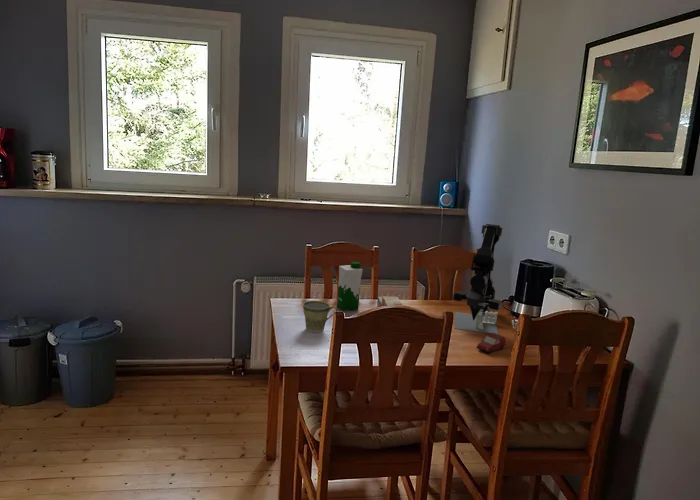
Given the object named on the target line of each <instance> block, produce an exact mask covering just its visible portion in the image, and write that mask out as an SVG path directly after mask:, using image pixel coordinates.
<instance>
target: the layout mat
mask: <svg viewBox="0 0 700 500" xmlns="http://www.w3.org/2000/svg"><path fill="white" fill-rule="evenodd" d="M477 316H478V315H477ZM477 316H476V318H475V320H473V317H472V313H468V312H467V313H466V312H460V311H459V312H458V311H454V329H456V330H460V331H461V330H462V331H469V332H477V333H481V334H482V333H483V334H491V333H496V334H498V335H499V330H498V327H497V322H496V323H494V321H492V322H491V323H490V322H489V320H487V322H484V317H485V315H483V319H482V322H481V323H480V325H479V327H475V326H476V319H477ZM488 317H490V315H488ZM492 318H494V316H492Z"/></svg>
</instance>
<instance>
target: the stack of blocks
mask: <svg viewBox="0 0 700 500" xmlns="http://www.w3.org/2000/svg"><path fill="white" fill-rule="evenodd" d="M376 302H377V303H376V304H377V305H376V308H377V307H381V306H392V305H401V306H403V307H404V305H403V303H402V301H401V300H400V299H399V298H398V296H384V295H382V296H377V301H376Z"/></svg>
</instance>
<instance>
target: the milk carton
mask: <svg viewBox="0 0 700 500" xmlns="http://www.w3.org/2000/svg"><path fill="white" fill-rule="evenodd" d="M363 270H364V269H363V268H362V267H361V262H360V261H350V264H348V265H347V264H345V265H339V266H338V285H337V286H338V287H337V298H336V299H337V300H336V306H337V307H338V308H340V309H341V310H342V311H356V310H358V311H359V306H360V305H359V304H360V294H361V293H360V292H361V282H362V281H361V279H362V275H363V272H364V271H363Z"/></svg>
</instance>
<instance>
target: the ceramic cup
mask: <svg viewBox="0 0 700 500" xmlns="http://www.w3.org/2000/svg"><path fill="white" fill-rule="evenodd" d="M302 307H303V315H304V320H305V321H304V323H305V329H306V332H308V333H312V334H313V333H314V334H315V333H316V334H319V333H322V332H324V330H325V326H326V322H328V320H329V319H330V318H332V317H333V316H334V315H333V314H334V313H332V314H331V315H329V317H328V314H329V313H330V311H331V310H332V309H335V310H336V311H335V312H337V313H338V308H337V307H336V306H331V305H330V304H329V303H328V302H325V301H322V300H307V301H305V302H303V304H302Z"/></svg>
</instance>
